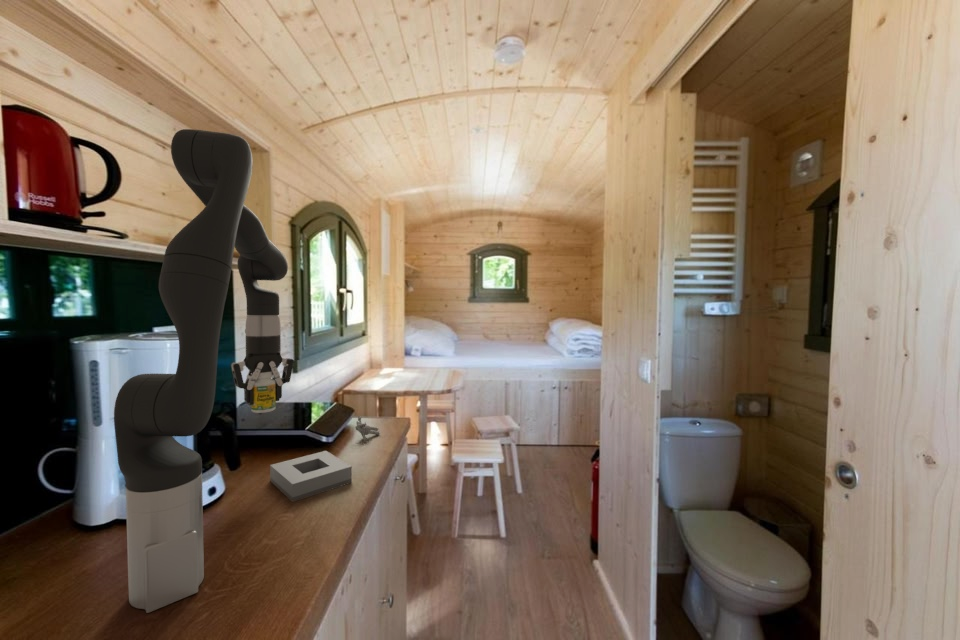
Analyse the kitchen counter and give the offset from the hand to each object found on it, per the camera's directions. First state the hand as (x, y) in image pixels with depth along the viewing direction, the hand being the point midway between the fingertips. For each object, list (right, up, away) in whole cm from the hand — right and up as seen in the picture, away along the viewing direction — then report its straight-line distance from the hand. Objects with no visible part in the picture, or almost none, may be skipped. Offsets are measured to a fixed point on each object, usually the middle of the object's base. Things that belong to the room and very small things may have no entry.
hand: (263, 402), depth 100 cm
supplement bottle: (0, -2, 0) cm, 2 cm away
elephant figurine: (+16, -18, +32) cm, 40 cm away
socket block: (+12, -19, 0) cm, 23 cm away
